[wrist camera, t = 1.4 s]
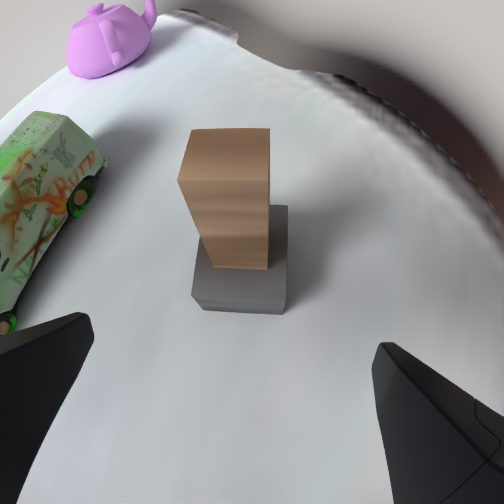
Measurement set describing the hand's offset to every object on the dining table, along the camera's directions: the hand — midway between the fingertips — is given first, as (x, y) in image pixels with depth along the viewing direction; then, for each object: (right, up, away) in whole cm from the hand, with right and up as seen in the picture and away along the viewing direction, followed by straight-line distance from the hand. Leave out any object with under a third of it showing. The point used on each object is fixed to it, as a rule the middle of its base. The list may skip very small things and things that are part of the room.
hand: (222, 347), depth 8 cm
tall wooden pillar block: (0, +1, +15) cm, 15 cm away
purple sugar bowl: (-24, +41, +35) cm, 59 cm away
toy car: (-24, +3, +18) cm, 30 cm away
